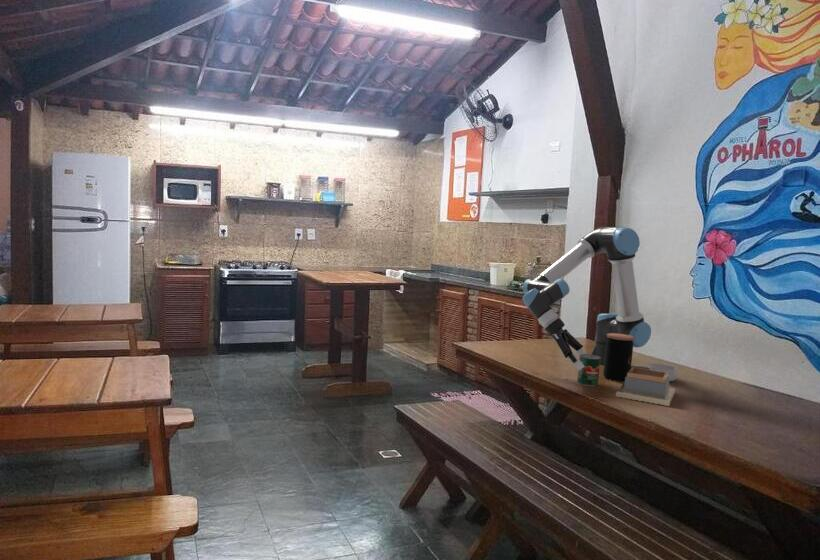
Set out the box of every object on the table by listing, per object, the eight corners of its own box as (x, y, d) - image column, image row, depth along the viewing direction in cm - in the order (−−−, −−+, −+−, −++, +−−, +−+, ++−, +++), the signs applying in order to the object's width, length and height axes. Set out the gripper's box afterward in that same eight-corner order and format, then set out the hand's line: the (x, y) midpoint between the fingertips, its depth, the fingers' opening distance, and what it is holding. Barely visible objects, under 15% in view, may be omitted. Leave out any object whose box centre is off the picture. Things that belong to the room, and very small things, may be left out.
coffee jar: (632, 383, 243) (636, 339, 242) (604, 380, 245) (609, 336, 243) (627, 376, 254) (631, 334, 252) (601, 374, 256) (605, 332, 254)
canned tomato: (589, 387, 232) (592, 359, 231) (573, 382, 238) (575, 354, 237) (602, 385, 237) (604, 357, 236) (585, 380, 243) (588, 353, 242)
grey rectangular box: (625, 384, 239) (627, 363, 239) (674, 393, 231) (676, 371, 230) (616, 396, 220) (618, 373, 219) (669, 406, 211) (671, 382, 211)
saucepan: (623, 375, 256) (624, 362, 256) (664, 376, 261) (666, 363, 260) (638, 382, 245) (639, 369, 245) (681, 383, 249) (683, 370, 249)
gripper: (552, 325, 255) (585, 366, 249) (535, 331, 233) (570, 376, 227) (566, 314, 252) (599, 355, 246) (550, 320, 230) (586, 365, 224)
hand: (585, 365), depth 237 cm, fingers open, 13 cm apart
